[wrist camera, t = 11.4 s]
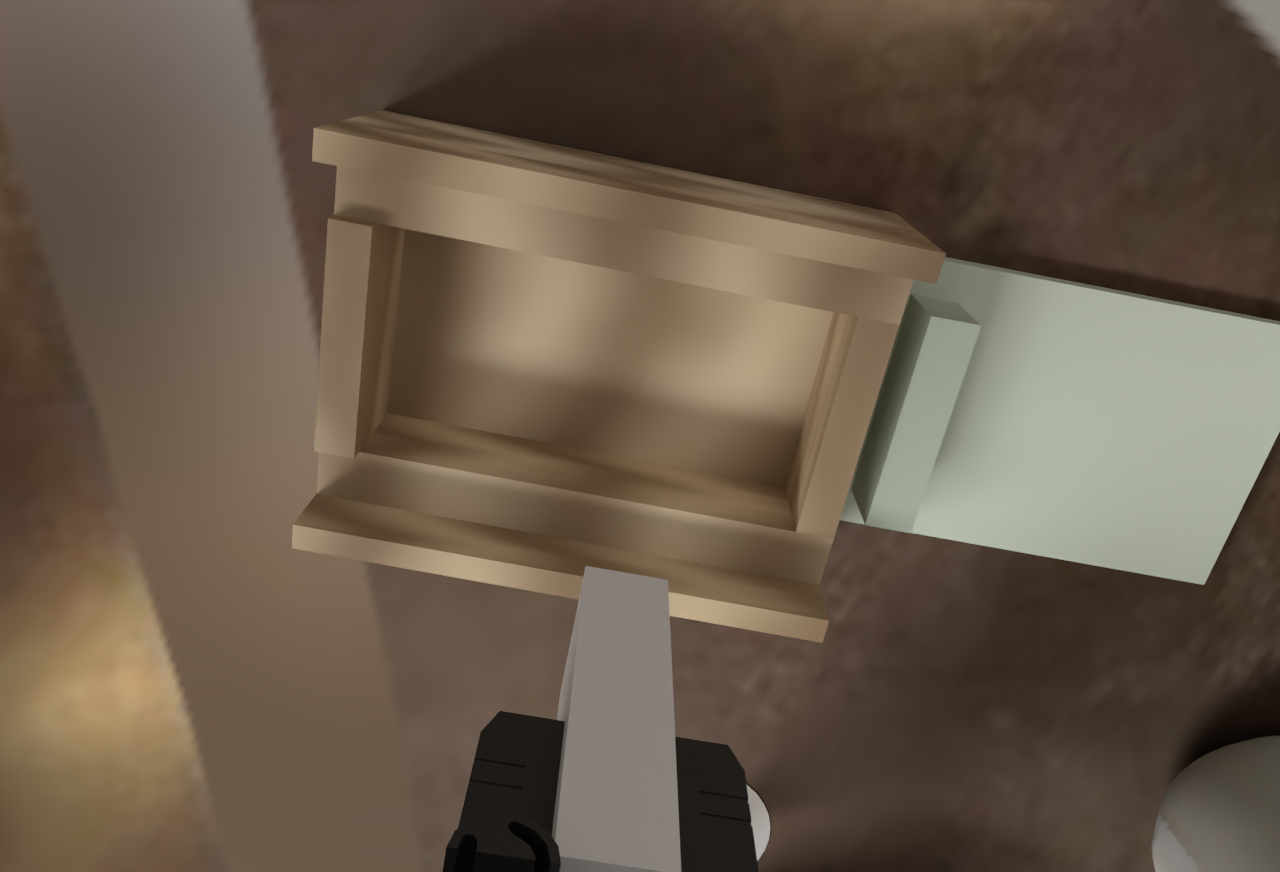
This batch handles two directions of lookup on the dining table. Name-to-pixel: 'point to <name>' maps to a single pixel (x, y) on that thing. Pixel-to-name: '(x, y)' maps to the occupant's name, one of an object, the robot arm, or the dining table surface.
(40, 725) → the dining table surface
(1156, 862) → the glass bottle
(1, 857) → the dining table surface
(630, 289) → the box
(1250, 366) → the lid
